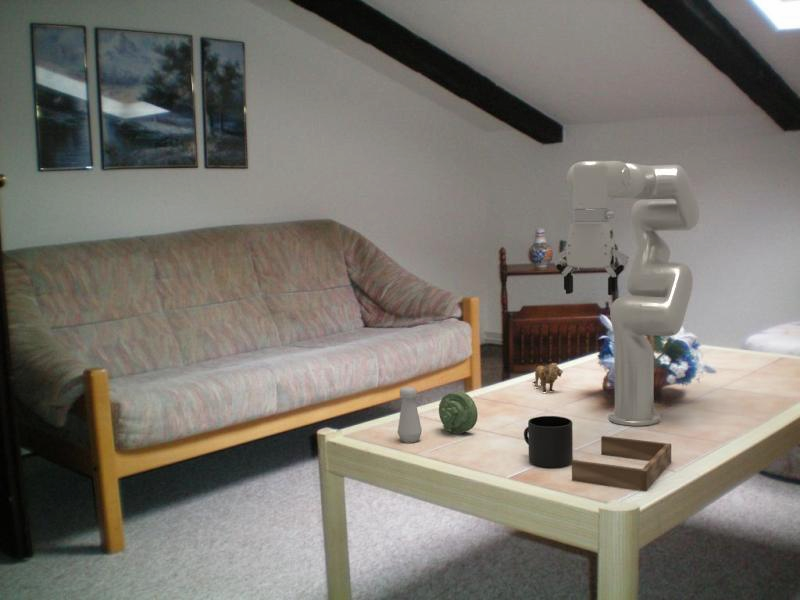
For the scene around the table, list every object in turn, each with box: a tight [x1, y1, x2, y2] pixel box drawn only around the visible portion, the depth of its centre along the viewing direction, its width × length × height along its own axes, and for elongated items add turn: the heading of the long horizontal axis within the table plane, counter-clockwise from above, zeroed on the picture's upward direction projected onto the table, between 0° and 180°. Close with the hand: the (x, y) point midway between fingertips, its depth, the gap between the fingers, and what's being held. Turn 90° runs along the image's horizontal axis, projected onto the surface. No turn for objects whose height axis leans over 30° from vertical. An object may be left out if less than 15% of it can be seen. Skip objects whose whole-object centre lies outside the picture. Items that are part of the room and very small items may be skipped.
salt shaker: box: [397, 386, 423, 444], centre depth 208 cm, size 6×6×13 cm
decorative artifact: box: [438, 391, 478, 435], centre depth 212 cm, size 10×7×10 cm
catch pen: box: [571, 435, 672, 492], centre depth 181 cm, size 20×15×4 cm
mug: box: [523, 415, 574, 469], centre depth 189 cm, size 9×12×9 cm
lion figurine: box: [532, 362, 564, 392], centre depth 255 cm, size 15×5×9 cm, turn 20°
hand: (590, 294), depth 194 cm, fingers open, 9 cm apart
